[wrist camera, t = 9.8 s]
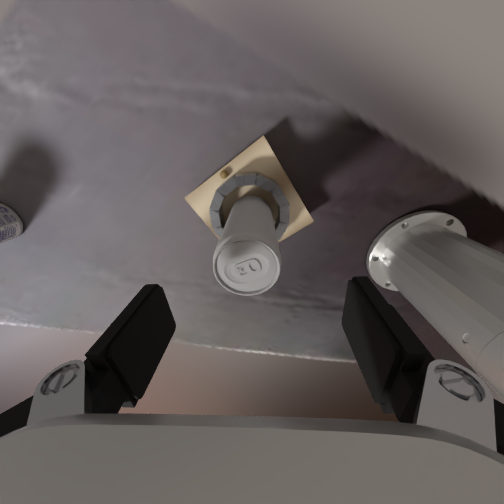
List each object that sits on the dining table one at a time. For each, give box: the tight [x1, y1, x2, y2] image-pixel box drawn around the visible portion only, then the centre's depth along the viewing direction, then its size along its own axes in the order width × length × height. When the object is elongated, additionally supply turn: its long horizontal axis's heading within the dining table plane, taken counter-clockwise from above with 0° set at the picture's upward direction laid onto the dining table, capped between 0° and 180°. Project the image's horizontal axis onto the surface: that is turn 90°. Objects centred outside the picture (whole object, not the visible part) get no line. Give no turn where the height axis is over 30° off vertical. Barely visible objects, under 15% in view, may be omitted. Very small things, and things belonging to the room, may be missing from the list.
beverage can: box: [213, 196, 281, 295], centre depth 19 cm, size 5×5×12 cm
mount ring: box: [209, 171, 289, 242], centre depth 23 cm, size 8×8×2 cm
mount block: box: [185, 135, 314, 242], centre depth 25 cm, size 11×11×4 cm
